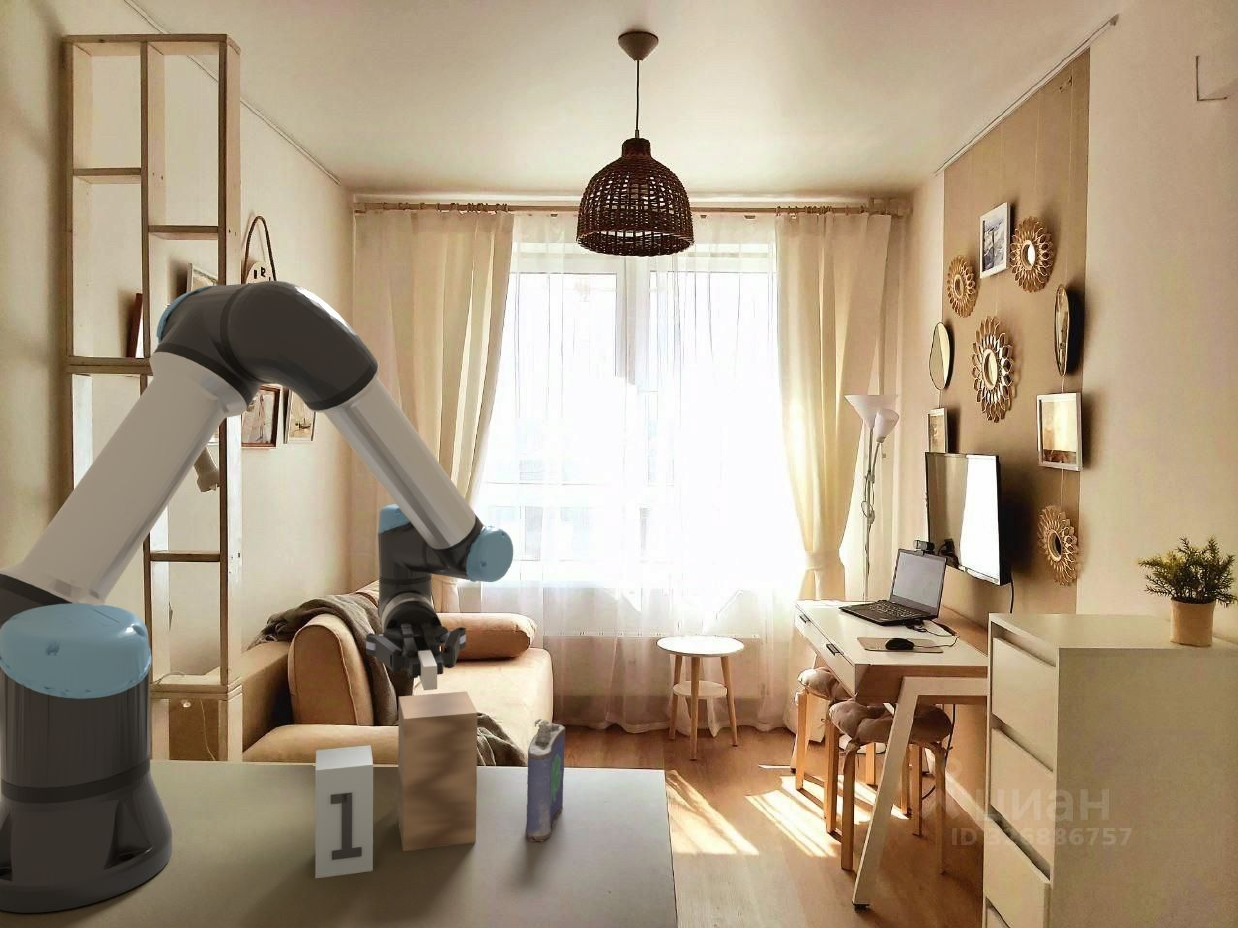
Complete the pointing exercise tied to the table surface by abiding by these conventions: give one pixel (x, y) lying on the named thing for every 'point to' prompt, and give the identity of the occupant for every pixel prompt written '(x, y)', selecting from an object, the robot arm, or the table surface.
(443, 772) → the plain block
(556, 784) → the flask
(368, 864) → the number block
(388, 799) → the table surface
